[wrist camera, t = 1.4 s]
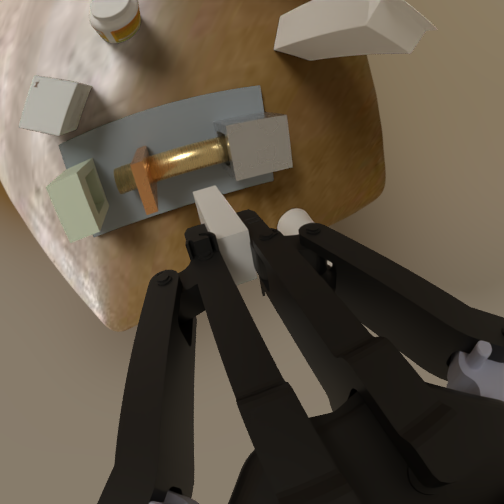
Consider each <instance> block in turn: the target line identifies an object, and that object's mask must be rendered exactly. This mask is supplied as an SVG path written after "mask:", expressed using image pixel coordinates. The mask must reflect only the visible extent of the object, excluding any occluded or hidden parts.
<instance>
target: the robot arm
mask: <svg viewBox="0 0 504 504" xmlns="http://www.w3.org/2000/svg"><path fill="white" fill-rule="evenodd" d="M193 195H194V199H195V203H196V207H197V210H198V214H199V218H200V221H201V225H197V226H194V227H191V228H188V229H187V230H186V232H185V238H186V248H187V251H188V254H189V257H190V260H191V262H190V264H189V266H188V267H187V268H186V269H185V270H183V271H182V272H180V273H177V272H176V271H174V270H165V271H161V272H159V273H157V274H156V275H155V276H153V277H152V279H151V280H150V282H149V286H148V289H147V293H146V296H145V300H144V304H143V308H142V311H141V315H140V319H139V323H138V327H137V332H136V336H135V340H134V345H133V349H132V354H131V359H130V363H129V368H128V373H127V378H126V384H125V389H124V395H123V401H122V407H121V414H120V421H119V428H118V436H117V445H116V454H115V465H114V468H113V470H112V472H111V474H110V476H109V478H108V481H107V483H106V485H105V487H104V490H103V492H102V494H101V497H100V499H99V501H98V503H97V504H199V503H198V502H196V501H195V500H193V499H191V497H192V492H193V485H194V424H193V423H194V419H193V418H194V367H195V343H196V324H197V319H196V315H198V314H200V313H202V312H203V311H205V310H206V313H207V316H208V319H209V323H210V326H211V329H212V332H213V335H214V338H215V341H216V344H217V347H218V350H219V353H220V356H221V359H222V361H223V364H224V367H225V370H226V373H227V376H228V378H229V381H230V384H231V386H232V389H233V392H234V394H235V397H236V402H237V405H238V408H239V411H240V413H241V416H242V418H243V421H244V423H245V426H246V428H247V431H248V433H249V436H250V438H251V440H252V443H253V446H254V448H255V450H254V451H253V452H252V453H251V454H250V455H249V457H248V458H247V460H246V461H245V463H244V465H243V467H242V469H241V472H240V474H239V477H238V479H237V482H236V485H235V487H234V490H233V492H232V495H231V498H230V500H229V503H228V504H504V318H503V317H500V316H497V315H493V314H490V313H487V312H484V311H481V310H478V309H475V308H471V307H469V306H468V305H466V304H464V303H463V302H461V301H460V300H458V299H456V298H455V297H453V296H452V295H450V294H448V293H447V292H445V291H443V290H442V289H440V288H438V287H436V286H435V285H433V284H432V283H430V282H428V281H427V280H425V279H423V278H422V277H420V276H418V275H416V274H414V273H413V272H411V271H409V270H408V269H406V268H404V267H402V266H401V265H399V264H397V263H395V262H393V261H392V260H390V259H388V258H386V257H384V256H382V255H380V254H379V253H377V252H375V251H373V250H371V249H369V248H367V247H365V246H364V245H362V244H360V243H358V242H356V241H354V240H352V239H350V238H348V237H347V236H345V235H343V234H341V233H339V232H337V231H335V230H333V229H331V228H329V227H327V226H325V225H322V224H319V223H307V224H305V225H303V226H301V227H300V228H299V230H298V231H299V234H297V235H288V236H284V235H283V234H282V233H281V232H280V231H278V230H277V229H273V228H269V227H268V226H267V225H266V224H265V223H264V221H263V220H261V218H260V217H259V216H258V215H257V214H256V212H254V211H251V210H249V209H248V210H244V211H241V212H238V213H236V212H235V211H234V210H233V208H232V207H231V206H230V204H229V203H228V202H227V200H226V199H225V198H224V196H223V195H222V194H221V192H220V191H219V190H218V188H217V187H216V185H215V186H211V187H208V188H204V189H201V190H198V191H194V192H193ZM327 260H328V261H330V262H331V263H332V266H330V265H328V264H327ZM256 271H257V273H258V275H259V278H260V284H261V289H262V294H263V296H265V292H266V294H267V296H268V297H269V299H270V301H271V302H272V304H273V306H274V308H275V309H276V311H277V313H278V314H279V316H280V318H281V319H282V321H283V323H284V324H285V326H286V327H287V329H288V331H289V333H290V334H291V336H292V337H293V339H294V341H295V343H296V344H297V346H298V348H299V349H300V351H301V352H302V354H303V356H304V357H305V359H306V361H307V362H308V364H309V366H310V367H311V369H312V371H313V372H314V374H315V376H316V377H317V379H318V381H319V382H320V384H321V385H322V387H323V389H324V390H325V392H326V394H327V396H328V398H329V401H330V405H331V408H332V411H333V412H332V413H328V414H324V415H320V416H315V417H310V418H308V416H307V414H306V412H305V410H304V409H303V407H302V405H301V403H300V401H299V400H298V398H297V396H296V394H295V392H294V391H293V389H292V387H291V386H290V384H289V383H288V382H285V381H284V379H283V378H282V375H281V373H280V372H279V370H278V368H277V366H276V364H275V362H274V360H273V358H272V356H271V355H270V352H269V350H268V348H267V346H266V345H265V342H264V341H263V338H262V337H261V335H260V333H259V331H258V329H257V327H256V325H255V323H254V321H253V319H252V317H251V315H250V313H249V311H248V309H247V307H246V304H245V303H244V300H243V299H242V296H241V294H240V292H239V290H238V288H237V285H239V284H242V283H245V282H248V281H251V280H254V279H257V275H256ZM362 324H363V325H365V326H366V327H368V328H369V329H370V330H372V331H373V332H374V333H376V334H377V335H378V336H379V337H373V336H372V335H371V334H370V333H369V332H368V330H367V329H366V328H365V327H364V326H363V325H362ZM398 350H399V351H400V352H401V353H403V354H404V355H405V356H407V357H408V358H410V359H411V360H412V361H413V362H415V363H416V364H417V365H419V366H420V367H422V368H423V369H425V370H426V371H428V372H429V373H431V374H433V375H435V376H437V377H439V378H441V379H444V380H446V381H448V384H447V388H445V387H441V386H438V385H434V384H430V383H427V382H424V381H423V379H422V378H421V377H420V376H419V375H418V373H417V372H416V371H415V370H414V369H413V367H412V366H411V365H410V364H409V363H408V361H407V360H406V359H405V358H404V357H403V355H402V354H401V353H400V352H399V351H398Z"/></svg>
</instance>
